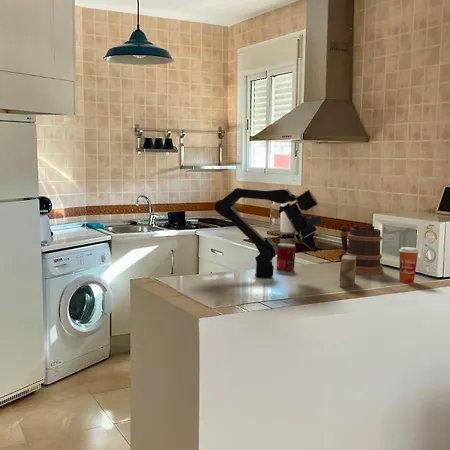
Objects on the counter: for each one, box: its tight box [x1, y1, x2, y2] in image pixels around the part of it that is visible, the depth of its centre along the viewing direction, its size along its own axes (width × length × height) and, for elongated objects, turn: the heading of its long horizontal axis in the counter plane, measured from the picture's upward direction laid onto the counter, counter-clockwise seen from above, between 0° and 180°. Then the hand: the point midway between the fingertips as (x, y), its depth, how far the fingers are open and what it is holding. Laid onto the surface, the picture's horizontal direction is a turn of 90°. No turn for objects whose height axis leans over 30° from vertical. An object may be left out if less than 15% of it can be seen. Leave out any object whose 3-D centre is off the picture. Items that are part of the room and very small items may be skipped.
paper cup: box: [398, 246, 420, 284], centre depth 239 cm, size 8×8×14 cm
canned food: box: [275, 242, 296, 272], centre depth 256 cm, size 8×8×11 cm
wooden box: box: [339, 255, 356, 289], centre depth 228 cm, size 5×10×11 cm, turn 164°
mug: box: [337, 225, 385, 276], centre depth 262 cm, size 18×23×20 cm
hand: (315, 251), depth 231 cm, fingers closed
